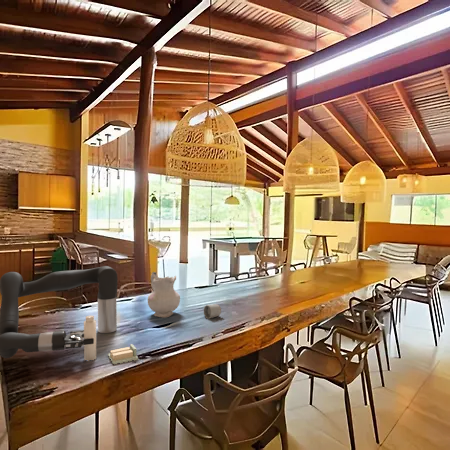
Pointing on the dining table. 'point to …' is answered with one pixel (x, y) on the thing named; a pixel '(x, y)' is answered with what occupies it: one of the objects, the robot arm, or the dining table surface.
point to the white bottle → (90, 333)
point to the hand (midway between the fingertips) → (94, 337)
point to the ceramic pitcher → (163, 296)
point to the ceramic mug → (212, 311)
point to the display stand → (123, 354)
